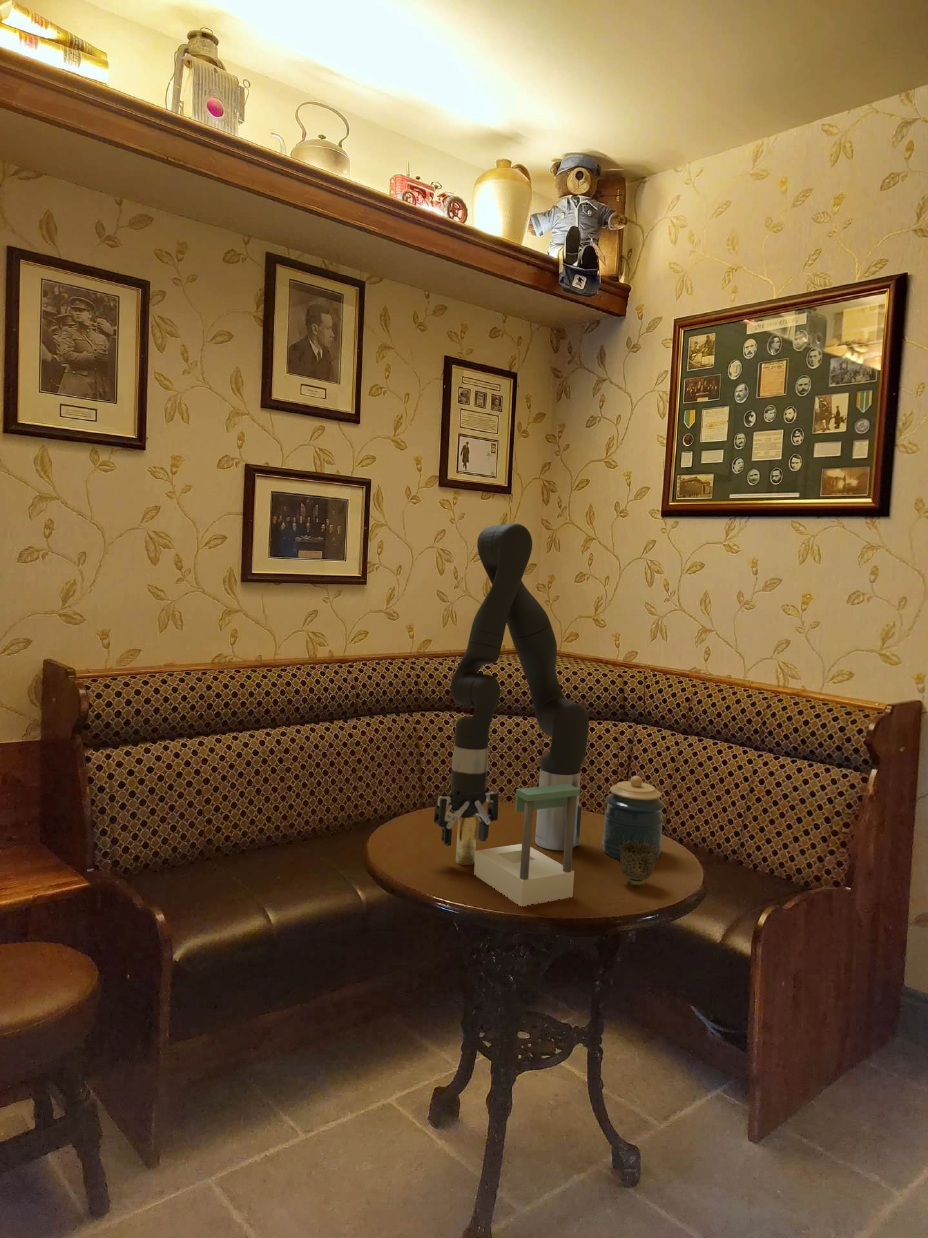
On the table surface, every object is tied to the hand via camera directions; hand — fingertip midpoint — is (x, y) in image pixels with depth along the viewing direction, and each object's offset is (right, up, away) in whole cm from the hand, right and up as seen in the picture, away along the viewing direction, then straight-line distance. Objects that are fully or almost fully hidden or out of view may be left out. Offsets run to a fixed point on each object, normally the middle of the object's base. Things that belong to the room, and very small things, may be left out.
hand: (464, 842), depth 177 cm
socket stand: (+11, -6, -11) cm, 16 cm away
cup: (+35, -7, -7) cm, 36 cm away
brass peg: (0, -4, 0) cm, 4 cm away
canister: (+37, -6, +12) cm, 40 cm away
